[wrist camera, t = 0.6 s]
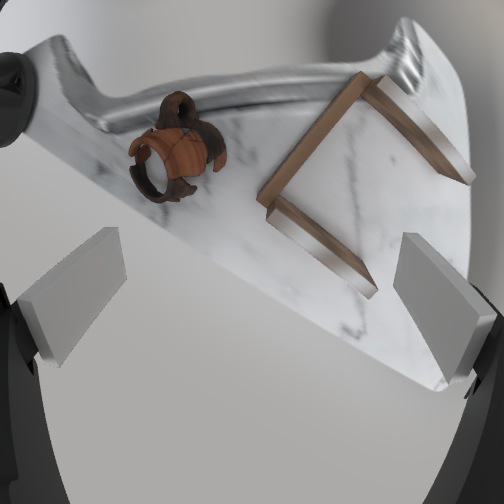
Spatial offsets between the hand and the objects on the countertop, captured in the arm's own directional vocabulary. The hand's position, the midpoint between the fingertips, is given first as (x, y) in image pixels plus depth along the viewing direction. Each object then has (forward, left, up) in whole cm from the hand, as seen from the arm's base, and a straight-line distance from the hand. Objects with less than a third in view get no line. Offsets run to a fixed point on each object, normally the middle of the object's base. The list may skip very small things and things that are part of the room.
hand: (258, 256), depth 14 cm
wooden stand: (+9, +6, -23) cm, 25 cm away
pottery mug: (-9, -1, -24) cm, 25 cm away
